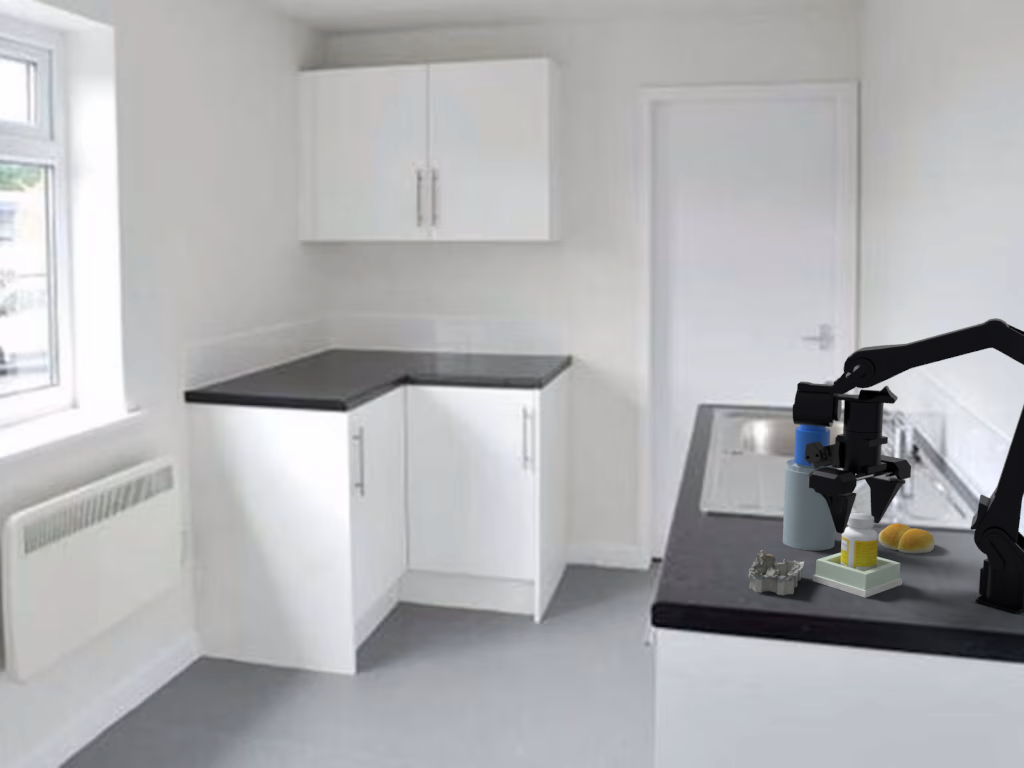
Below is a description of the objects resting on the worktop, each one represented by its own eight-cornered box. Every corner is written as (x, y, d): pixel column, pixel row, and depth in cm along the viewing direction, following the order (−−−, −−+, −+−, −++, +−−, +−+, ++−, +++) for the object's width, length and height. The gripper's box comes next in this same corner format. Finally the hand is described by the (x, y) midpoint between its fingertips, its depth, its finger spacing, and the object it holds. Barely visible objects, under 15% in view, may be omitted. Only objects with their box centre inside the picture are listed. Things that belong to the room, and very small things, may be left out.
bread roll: (920, 558, 173) (921, 535, 173) (872, 546, 180) (873, 524, 180) (944, 548, 179) (945, 526, 178) (895, 537, 186) (897, 516, 185)
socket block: (901, 584, 160) (902, 563, 159) (865, 597, 154) (866, 575, 154) (849, 569, 167) (850, 548, 167) (813, 581, 162) (813, 559, 161)
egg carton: (759, 572, 167) (760, 548, 167) (806, 578, 164) (807, 554, 163) (742, 591, 158) (743, 566, 157) (792, 599, 154) (792, 573, 154)
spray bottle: (807, 553, 176) (812, 410, 172) (772, 540, 184) (776, 402, 180) (845, 545, 180) (851, 405, 176) (809, 533, 188) (814, 398, 184)
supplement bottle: (882, 576, 160) (885, 516, 159) (865, 584, 157) (868, 522, 156) (851, 568, 164) (853, 509, 163) (833, 576, 161) (835, 515, 159)
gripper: (854, 415, 169) (850, 507, 171) (781, 428, 158) (777, 526, 160) (915, 425, 160) (910, 522, 163) (842, 440, 149) (838, 543, 152)
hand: (858, 527), depth 160 cm, fingers open, 9 cm apart
